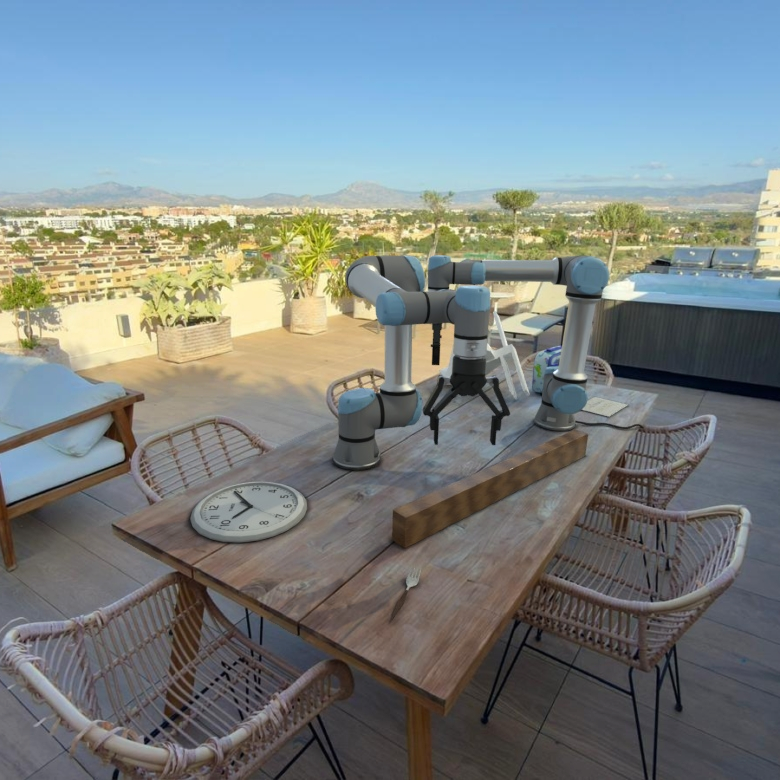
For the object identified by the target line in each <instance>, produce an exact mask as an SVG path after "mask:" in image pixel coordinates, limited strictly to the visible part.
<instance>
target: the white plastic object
mask: <svg viewBox="0 0 780 780" xmlns="http://www.w3.org/2000/svg"><path fill="white" fill-rule="evenodd" d="M492 315H493V319H494V321H495V324H496V325H495V326H496V328H497V332H498V335H499V338H500V342H501V345H502V347H500V348H498V349H496V350H495V349H493V348H492V347H491V346H490V344H489V343H488V342H487V354H486V355H485V356H484V357H485V358H486V368H485V377H486V376H487V375H489V374H490V373H492V372H494V371H495V370H496V369H497V368H499V367H500V366H502V370H503V373H504V376H505V380H506V383H507V386H508V390H509V393H510V394H511V395H512V397H513V398H514V399H515V400H517V392H516V391H517V390H516V388H515V385H514V381H513V378H512V375H511V371H510V369H509V365H508V361H510V360H513V363H514V366H515V369H516V372H517V376H518V380H519V382H520V385H521V389H522V391H523V393H524V395H525V396H526V397H528V396H531V395H530V390H529V388H528V387H529V386H528V384H527V381H526V378H525V375H524V371H523V369H522V368H523V367H522V366H521V362H520V359H519V355H518V352H517V349H516V347H515V346H514V345H513V343H511V344H508V341H507V337H506V334H505V331H504V328H503V325H502V321H501V318H500V315H499V314H498V312H497V311H496V310H495V311H492ZM454 356H455V354H454V353H453V347H452V349H451V353H450V357H449V362H448V366H446V367H444V368H442V369H440V370H439V371H438V372H439V375H442V376H444V377H451V375H452V362H453V357H454ZM449 385H451V383H450V382H449V383H447V385H446V386H449Z"/></svg>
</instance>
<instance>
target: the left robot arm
mask: <svg viewBox="0 0 780 780" xmlns="http://www.w3.org/2000/svg"><path fill="white" fill-rule="evenodd" d="M344 278H345V285H346V287H347V289H348V290H349V292H350V293H351V294H352V295H354V296H355V297H357V298H360V299H365V300H366V301H367V302H368V303H369V304H371V305H372V306H373V307H374V309H375V315H376V318H377V321H378V323H379V324H380V325H382V326H384V382H382V383H381V384H380V385H379V392H375V390H374V389H372V388H368V387H367V388H364V387H359V388H353V389H350V390H346V391H345V392H343V393H342V394H341V395H340V396H339V398H338V404H337V416H338V417H337V418H338V422H337V423H338V438H337V439H338V440H337V441H336V442H337V443H336V445H335V449H334V452H333V455H332V460H333V461H332V462H333V464H334V465H335V466H336V467H338V468H340V469H342V470H343V469H344V470H348V471H366V470H369V469H372V468H375V467H377V466H379V464H380V463H381V454H382V450H379V446H378V443H377V441H376V430H385V429H393V428H394V429H395V428H405V427H410V426H415V425H416V424H417V423H418V422H419V421H420V418H421V416H422V413H423V416H427V417H429V429H430V430H431V431H433V444H434V445H435V446H438V445H439V432H440V431H439V430H440V429H439V428H440V417H439V414H440V413H442V412H443V410H444V409H445V408H446V407H447V406H448V405H449V404H450V403H451V402H452V401H453V400H454V399H456V398H457V396H460V397H468V396H469V397H475V396H477V395H478V396H479V397H480V398H481V399H482V401H483V402H484V403H485V404H486V406H488V408H489V409H490V410H491V412H492V413H493V414H492V415H491V421H490V433H489V442H490V444H491V445H492V446H496V442H497V432H500V431H501V430H502V420H503V419H504V417H510V416H511V411H510V409H509V407H508V404H507V402H506V400H505V397H504V395H503V392H502V390H501V388H500V380H499V377H498V376H497V375H496V374H493V375H491V376H488V377H486V376H485V368H486V358H485V357H484V356H485V355H486V354H487V343H488V337H489V324H490V313H491V305H492V304H491V291H490V289H489V288H488V287H486V286H481V285H460V286H458V287H457V289H456V290H455V289H451V288H449V290H448V289H442V290H439V291H430V292H426V291H425V287H426V275H425V271H424V267H423V265H422V262H421V261H420V260H419V259H418V258H417V257H416V256H413V255H403V254H402V255H367V256H362V257H360V258H359V259H358V258H357V259H356V260H355V261H353V262H352V263H351V264H350V265H349V267H348V268H347V269H346V272H345V277H344ZM436 323H443V324H451V325H454V326H453V344H452V348H453V353H454V354H455V356H454V357H453V362H452V375H451V377H444V376H442V375H440V374H439V375H437V380H436V385H435V386H434V388H433V390H432V391H431V393H430V395H429V397H428V399H427V400H426V402H425V404H424V405H423V400H422V394H421V393H420V390H418V389H417V386H416V384H415V383H413V382H412V358H413V325H428V324H429V325H432V324H436ZM449 382H450V383H451V384H450V385H451V388H449V390H448V392H447V393H446V394H445V395H444V396H443V397H442V398H441V399H440V400H439V401H438V402H437V403H436V401H437V400H438V398H439V396H440V394H441V393H442V392H443V388H444V387H446V386H448V385H447V383H449ZM487 384H488V385H489V387H491V388H492V389H493V392H494V394H495V397H496V398H497V401H498V403H499V405H500V408H501V410H500V409H499V408H498V407H497V406H496V405H495V403H494V402H493V401H492V399H490V397H489V396H488V395H487V393H485V391H484V389H483V388H484V387H485V386H486V385H487ZM435 403H436V404H435Z"/></svg>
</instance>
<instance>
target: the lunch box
mask: <svg viewBox="0 0 780 780" xmlns="http://www.w3.org/2000/svg"><path fill="white" fill-rule="evenodd" d="M561 350H562V345H556V346H553V347H550V348H546V349H544V350H541V351H539V352H538V353H537V354H536V355H535V357H534V360H533V367H532V380H531V382H532V383H531V385H532V386H531V388H532V392H534V393H539V394H542V392H543V382H544V373H545V369H546V368H547V367H553V366H557V367H559V363H560V356H561Z"/></svg>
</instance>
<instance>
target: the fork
mask: <svg viewBox="0 0 780 780" xmlns="http://www.w3.org/2000/svg"><path fill="white" fill-rule="evenodd" d="M412 568H413V565H410V569H409V572H408V574H407V577H406V579H405V584H406V589H405V590H404V591H403V593H402V594H401V596H400V597H399V599H398V601H397V604H396V607H395V609H394V612H393V614H392V617H391V620H394V619H395V617H396V615H397V614H398V613H399V611H400V609H401V608H402V607H403V605H404V603H405V601H406V598H407V596H408V592H409V590H410V588H413V587H415V586H417V585H418V583H419V579H420V575H421V572H422V568H420V569H419V567H416V566H414V568H413V569H412ZM415 569H416V571H415ZM418 570H419V572H418Z"/></svg>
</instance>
